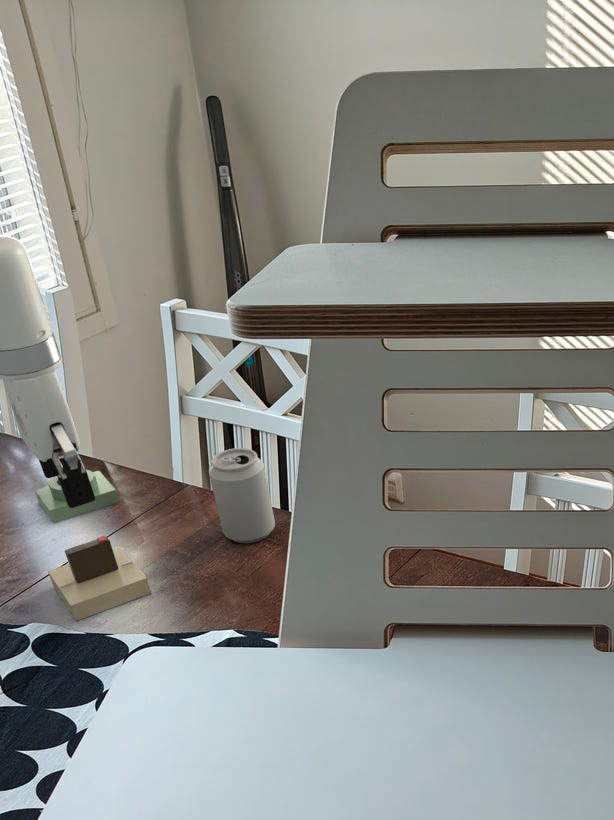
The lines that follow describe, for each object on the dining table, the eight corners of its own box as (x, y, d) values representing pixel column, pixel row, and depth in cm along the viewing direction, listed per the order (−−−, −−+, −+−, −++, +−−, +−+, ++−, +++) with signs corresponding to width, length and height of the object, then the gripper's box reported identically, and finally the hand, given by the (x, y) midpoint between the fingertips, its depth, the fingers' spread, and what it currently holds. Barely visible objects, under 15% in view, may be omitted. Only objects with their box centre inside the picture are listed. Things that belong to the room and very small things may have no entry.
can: (281, 538, 139) (266, 462, 132) (228, 551, 137) (210, 474, 130) (270, 514, 145) (255, 440, 137) (219, 525, 143) (202, 451, 135)
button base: (53, 523, 145) (45, 500, 142) (38, 502, 150) (30, 479, 148) (119, 502, 149) (112, 479, 147) (102, 482, 155) (95, 459, 152)
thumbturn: (77, 583, 127) (66, 553, 124) (74, 579, 128) (63, 548, 125) (118, 569, 130) (109, 538, 127) (115, 564, 131) (105, 534, 128)
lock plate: (76, 621, 125) (70, 604, 123) (53, 586, 132) (47, 570, 130) (151, 593, 129) (146, 576, 128) (125, 561, 136) (120, 544, 134)
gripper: (-29, 342, 115) (20, 473, 125) (9, 386, 103) (60, 526, 114) (36, 326, 118) (78, 455, 128) (80, 368, 107) (123, 505, 117)
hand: (70, 488), depth 121 cm, fingers open, 9 cm apart
